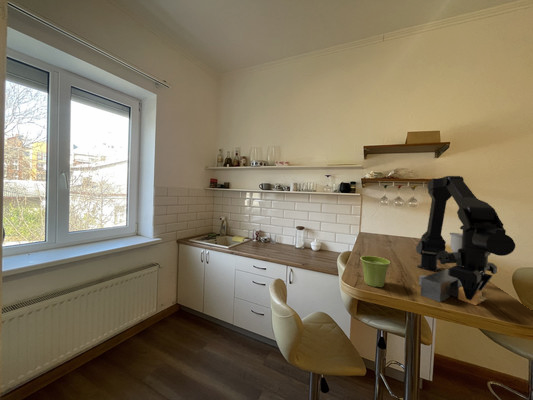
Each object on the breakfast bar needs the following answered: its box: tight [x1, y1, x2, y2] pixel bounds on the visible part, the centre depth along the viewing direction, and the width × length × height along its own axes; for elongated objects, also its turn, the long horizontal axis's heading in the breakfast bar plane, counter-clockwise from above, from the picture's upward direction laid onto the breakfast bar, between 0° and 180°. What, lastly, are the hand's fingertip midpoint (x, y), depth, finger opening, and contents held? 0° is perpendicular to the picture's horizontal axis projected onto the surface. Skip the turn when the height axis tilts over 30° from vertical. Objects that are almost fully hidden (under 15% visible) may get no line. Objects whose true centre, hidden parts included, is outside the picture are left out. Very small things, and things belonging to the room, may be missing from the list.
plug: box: [418, 274, 487, 306], centre depth 68 cm, size 16×4×4 cm, turn 30°
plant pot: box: [360, 255, 391, 288], centre depth 73 cm, size 9×9×9 cm
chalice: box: [449, 232, 464, 267], centre depth 77 cm, size 7×7×18 cm
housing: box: [420, 268, 462, 303], centre depth 69 cm, size 20×5×6 cm, turn 120°
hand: (471, 297), depth 63 cm, fingers closed on plug, 4 cm apart
